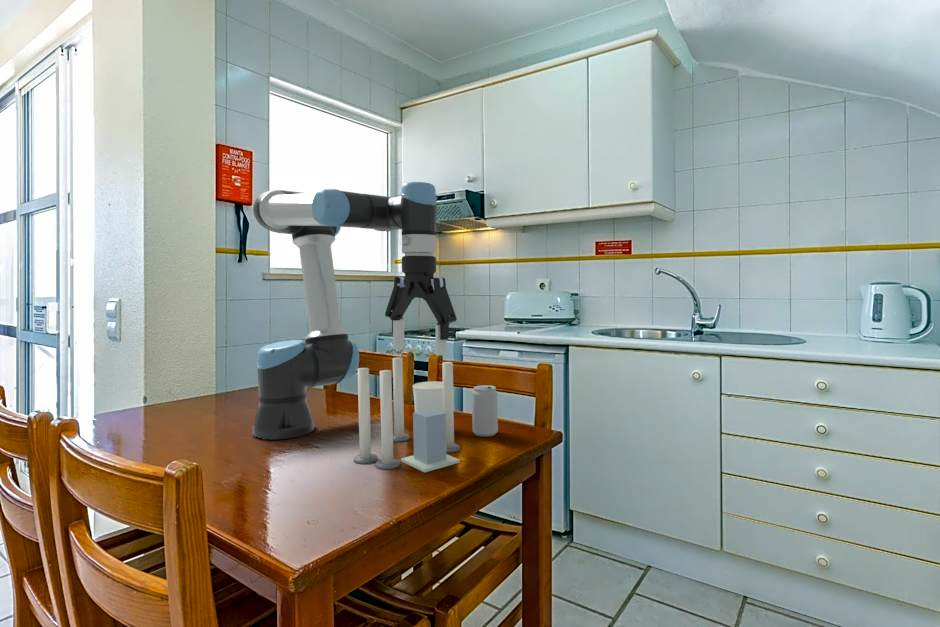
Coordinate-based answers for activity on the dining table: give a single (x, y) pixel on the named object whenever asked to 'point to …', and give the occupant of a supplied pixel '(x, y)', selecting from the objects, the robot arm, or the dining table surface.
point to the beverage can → (484, 410)
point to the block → (429, 436)
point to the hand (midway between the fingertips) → (419, 351)
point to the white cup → (428, 396)
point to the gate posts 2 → (387, 421)
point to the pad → (429, 467)
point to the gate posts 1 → (364, 411)
